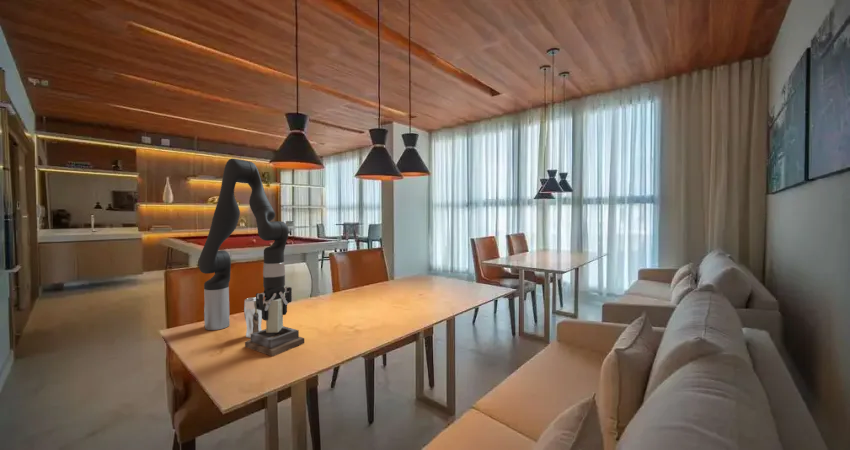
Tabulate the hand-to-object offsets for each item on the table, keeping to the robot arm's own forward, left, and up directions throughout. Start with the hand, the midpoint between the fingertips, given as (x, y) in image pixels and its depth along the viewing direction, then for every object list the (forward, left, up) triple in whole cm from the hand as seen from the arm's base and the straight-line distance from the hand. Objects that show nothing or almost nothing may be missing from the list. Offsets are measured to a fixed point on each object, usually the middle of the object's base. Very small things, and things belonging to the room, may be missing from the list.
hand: (274, 317), depth 132 cm
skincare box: (0, 0, -5) cm, 5 cm away
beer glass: (-16, +2, -11) cm, 19 cm away
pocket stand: (0, 0, -11) cm, 11 cm away
